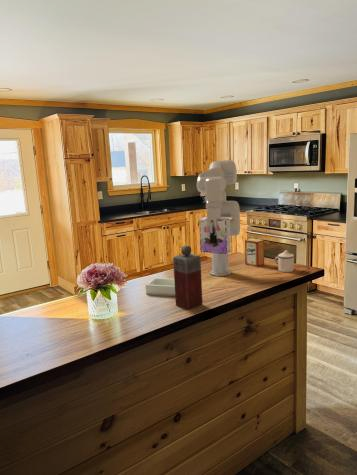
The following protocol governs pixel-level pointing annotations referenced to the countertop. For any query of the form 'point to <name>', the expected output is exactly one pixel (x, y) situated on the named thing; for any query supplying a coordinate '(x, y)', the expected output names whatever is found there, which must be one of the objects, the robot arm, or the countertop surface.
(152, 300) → the countertop surface
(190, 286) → the red canister with lid
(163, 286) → the tray
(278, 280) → the countertop surface
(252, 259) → the baking soda box
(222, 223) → the candy box
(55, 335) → the countertop surface
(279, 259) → the teacup with lid
